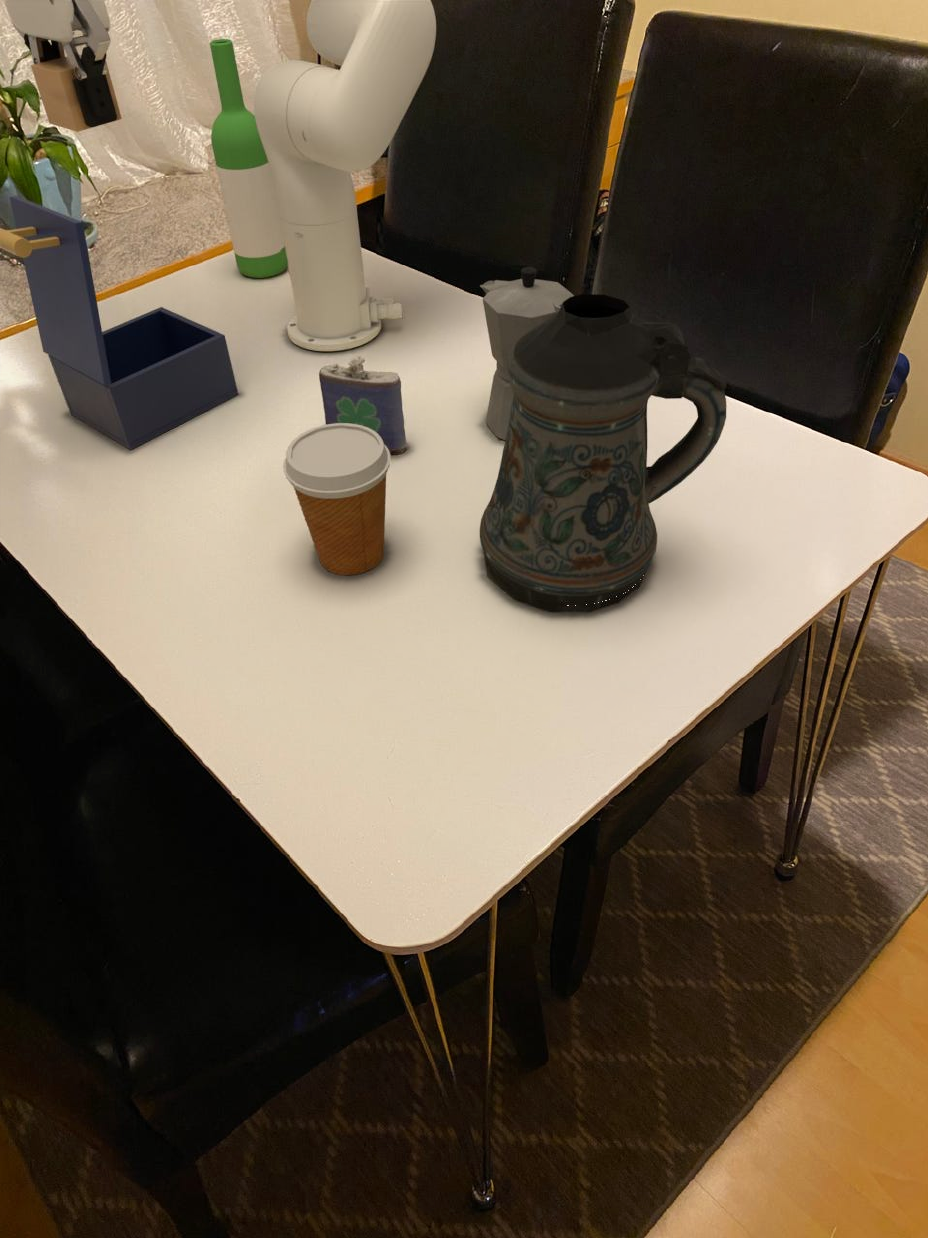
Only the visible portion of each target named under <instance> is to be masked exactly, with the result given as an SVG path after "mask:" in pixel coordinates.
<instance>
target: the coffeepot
mask: <svg viewBox="0 0 928 1238" xmlns="http://www.w3.org/2000/svg"><path fill="white" fill-rule="evenodd" d="M537 271H538V269H536V268H535V267H530V266H527V267H523V268H522V269H521V270H520V275H521V278H520V279H515V280H501V279H500V280H499V279H495V280H488V281H485V282H484V283H483V284H480V285H479V287H480V288H481V289H482V290H483V292H484V294H485V296H483V298H482V303H483V310H484V315H485V316H484V317H485V321H486V328H487V333H488V339H489V344H490V351H491V356H492V357H493V359H494V361H496V370H495V371H494V374H493V376H492V383H491V389H490V394H489V401H488V406H487V413H486V418H485V424H486V425H487V427H488V428H489V430H490V431H491V433H492V434H493V435H494V436H496V437H497V438H498V439H500V440H502V441H505V439H506V433H507V427H508V421H509V416H510V410H511V404H512V399H513V393H514V392H513V390H512V388H511V386H510V381H509V376H508V370H507V359H508V355H509V352H510V350H511V349H512V347H513V346H514V345H515V344H516V343H517V341H518V340H519V339H520V338H521V337H522V336H523V335H525V334H526V333H528V332H529V331H531V330H532V329H533V328H535V327H536V326H538V325H540V324H541V323H543V322H545V321H546V320H548V319H549V318H551V317H552V316H553V315H555V314H556V313H558V312H559V310H560V308H561V305H562V303H563V302H564V301H565V300H567V299H568V298H570V297H573V296H575V295H574V294H573V293H572V292H570V291H569V290H568V289H567V288H565V286H563V285H562V284H560V283H559V282H558V281H552V280H544V279H536V276H537Z"/></svg>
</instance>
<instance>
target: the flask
mask: <svg viewBox="0 0 928 1238" xmlns="http://www.w3.org/2000/svg"><path fill="white" fill-rule="evenodd" d="M365 362H366V359H365V357H362V356H360V355H359V356H357V358H352V359H351V358H350V359H349V361H348V362H347V364H348V367H345V366H342V365H339V364H338V363H333V364H329V365H325V366H322V367H321V368H320V369H319V371H318V379H319V385H320V392H321V397H322V404H323V412H324V419H325V425H328V424H335V423H350V424H357V425H361V426H365V427H368V428H370V429H372V430H374V431H375V432H376V433H378V434H379V436H380V437H381V438H382V440H383V443H384V444H385V445H386V447H387V448H388V450H389V452H390V456H392V455H401V454H402V453H404V452H405V451H406V449H407V436H406V429H405V417H404V411H403V399H402V398H403V397H402V381H401V377H400V375H399V374H398V373H397V372H393V371H373V370H372V371H369V370H364V363H365Z"/></svg>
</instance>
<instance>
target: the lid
mask: <svg viewBox="0 0 928 1238" xmlns="http://www.w3.org/2000/svg"><path fill="white" fill-rule="evenodd" d="M9 202H10V206H11V210H12V215H13V220H14V225H15V229H4V228H2V227H0V249H2V250H4V251H6V252H8V253H10V254H13V255H14V256H17V257H19V258H22V262H23V265H24V270H25V275H26V279H27V284H28V289H29V293H30V296H31V301H32V306H33V311H34V316H35V319H36V325H37V329H38V333H39V338H40V343H41V347H42V352H43V353H45V354H46V355H47V356H48V355H50V356H52V357H54V358H56V359H57V360H59V361H61V362H63V363H65V364H66V365H68V366H70V367H72V368H74V369H76V370H77V371H79V372H81V373H83V374H85V375H87V376H88V377H90V378H92V379H94V380H96V381H97V382H99V383H101V384H103V385H109V384H111V379H110V374H109V368H108V362H107V357H106V351H105V345H104V340H103V334H102V332H103V328H102V323H101V318H100V312H99V306H98V301H97V295H96V290H95V283H94V277H93V271H92V266H91V260H90V255H89V250H88V249H89V248H88V244H87V238H86V232H85V227H84V222H83V221H81V220H78V219H76V218H73V217H71V216H68V215H66V214H63V213H61V212H58V211H56V210H53V209H51V208H48V207H46V206H43V205H41V204H39V203H37V202H33V201H30V200H28V199H25V198H23V197H21V196H18V195H11V196H9Z"/></svg>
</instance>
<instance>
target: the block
mask: <svg viewBox="0 0 928 1238" xmlns="http://www.w3.org/2000/svg"><path fill="white" fill-rule="evenodd" d="M81 55H82V54H79V56H80V59H81ZM105 64H106V66H107V74H106V78H107V81H108V85H109V89H110V92H111V96H112V99H113V103H114V107H115V110H116V114H117V120H116V121H119V120H122V114H121V111H120V106H119V103H118V100H117V96H116V93H115V89H114V85H113V82H112V78H111V73H110V71H109V65H108V63H107V60H106V61H105ZM30 68H31V70H32V73H33V77H34V80H35V83H36V86H37V89H38V93H39V95H40V98H41V101H42V105H43V108H44V110H45V114H46V117H47V120H48V124H50V125H53V126H56V127H60V128H62V129H66V130H71V131H74V132H76V133H78V132H82V131H85V130H88V129H93V128H94V127H88V126H87V125H86V124H85V121H84V117H83V114H82V111H81V107H80V104H79V101H78V97H77V94H76V90H75V87H74V84H73V80H74V79H77V77H76V75H75V73H74V71H73V68H72V66H71V64H70V61H69V59H68V57H67V56H65V57H63V58H58V59H54V60H50V61H46V62H42V63H37V64H34V63H32V64H31V65H30ZM116 121H115V122H116Z"/></svg>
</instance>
